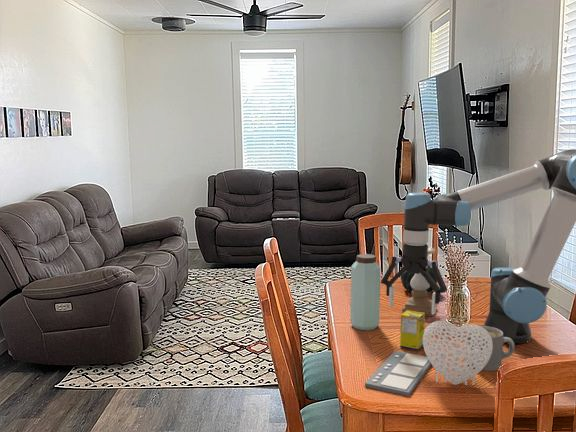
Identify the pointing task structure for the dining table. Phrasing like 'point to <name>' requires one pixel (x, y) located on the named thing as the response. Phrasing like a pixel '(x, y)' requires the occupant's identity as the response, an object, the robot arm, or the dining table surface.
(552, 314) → the dining table surface
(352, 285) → the water bottle
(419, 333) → the supplement box
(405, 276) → the squash
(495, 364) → the coffee mug
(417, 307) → the candle holder
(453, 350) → the decorative heart
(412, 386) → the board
